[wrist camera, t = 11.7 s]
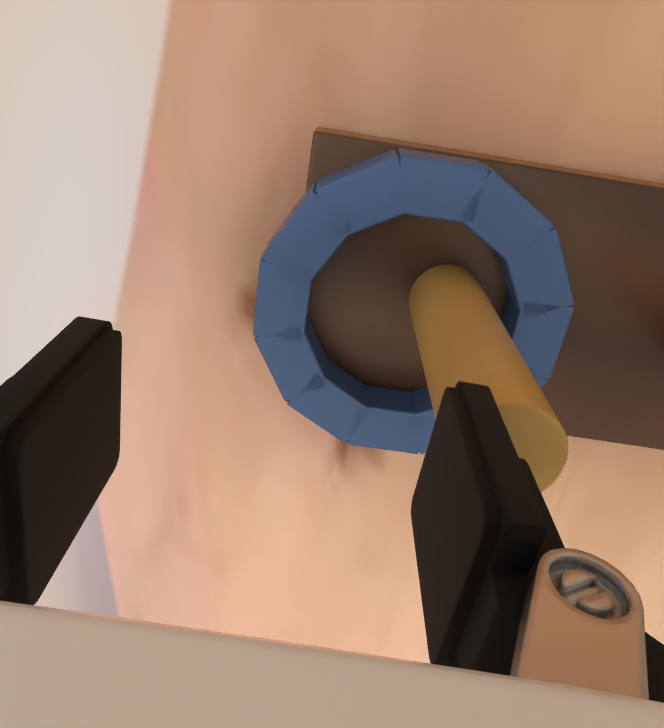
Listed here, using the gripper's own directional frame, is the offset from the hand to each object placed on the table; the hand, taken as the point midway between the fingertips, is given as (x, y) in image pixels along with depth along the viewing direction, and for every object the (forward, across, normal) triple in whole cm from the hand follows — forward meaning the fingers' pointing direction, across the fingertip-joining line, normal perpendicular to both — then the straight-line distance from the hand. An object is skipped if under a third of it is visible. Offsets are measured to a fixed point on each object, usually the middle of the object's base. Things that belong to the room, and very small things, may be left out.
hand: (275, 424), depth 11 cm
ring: (+9, -3, 0) cm, 10 cm away
